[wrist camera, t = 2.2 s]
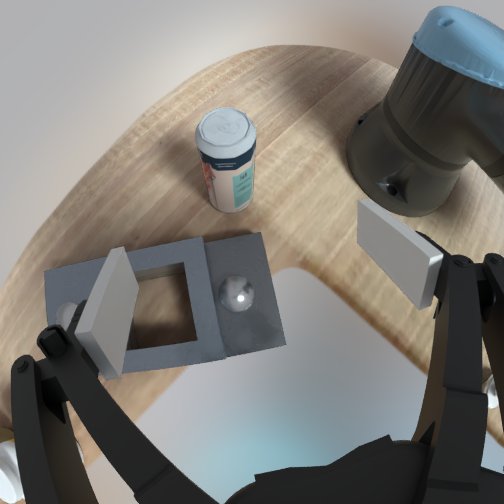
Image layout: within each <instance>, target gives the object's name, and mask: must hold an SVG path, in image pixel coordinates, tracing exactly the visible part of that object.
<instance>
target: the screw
mask: <svg viewBox="0 0 504 504" xmlns="http://www.w3.org/2000/svg"><path fill="white" fill-rule="evenodd" d="M482 393H487V395H488V408H495V407H496V406H498V405H499V402H498V397H497V392H496V387H495V383H494V378H493V374H492V375H491V376H490V377H489V379H488V380H487V381H485V382H484V383H483V384H482Z"/></svg>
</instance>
